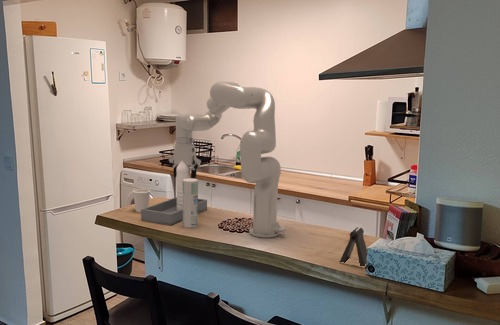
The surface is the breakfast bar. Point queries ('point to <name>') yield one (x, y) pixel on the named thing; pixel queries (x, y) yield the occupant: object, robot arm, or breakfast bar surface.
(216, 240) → the breakfast bar surface
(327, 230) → the breakfast bar surface
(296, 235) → the breakfast bar surface
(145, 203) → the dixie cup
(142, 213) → the tray
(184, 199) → the spray can
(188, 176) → the water bottle
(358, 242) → the phone stand
